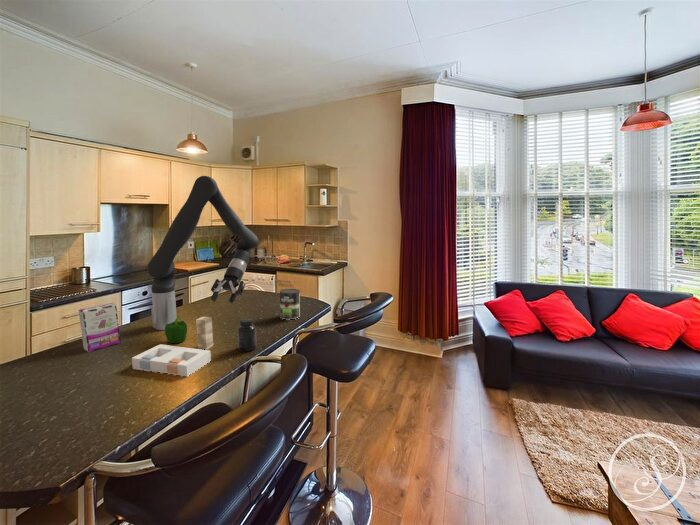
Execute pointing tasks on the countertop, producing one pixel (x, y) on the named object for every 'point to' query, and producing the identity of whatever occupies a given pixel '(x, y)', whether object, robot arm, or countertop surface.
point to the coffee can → (289, 304)
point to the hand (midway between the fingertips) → (221, 301)
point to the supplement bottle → (247, 335)
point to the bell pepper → (176, 331)
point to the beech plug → (204, 332)
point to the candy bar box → (99, 327)
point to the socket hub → (171, 360)
